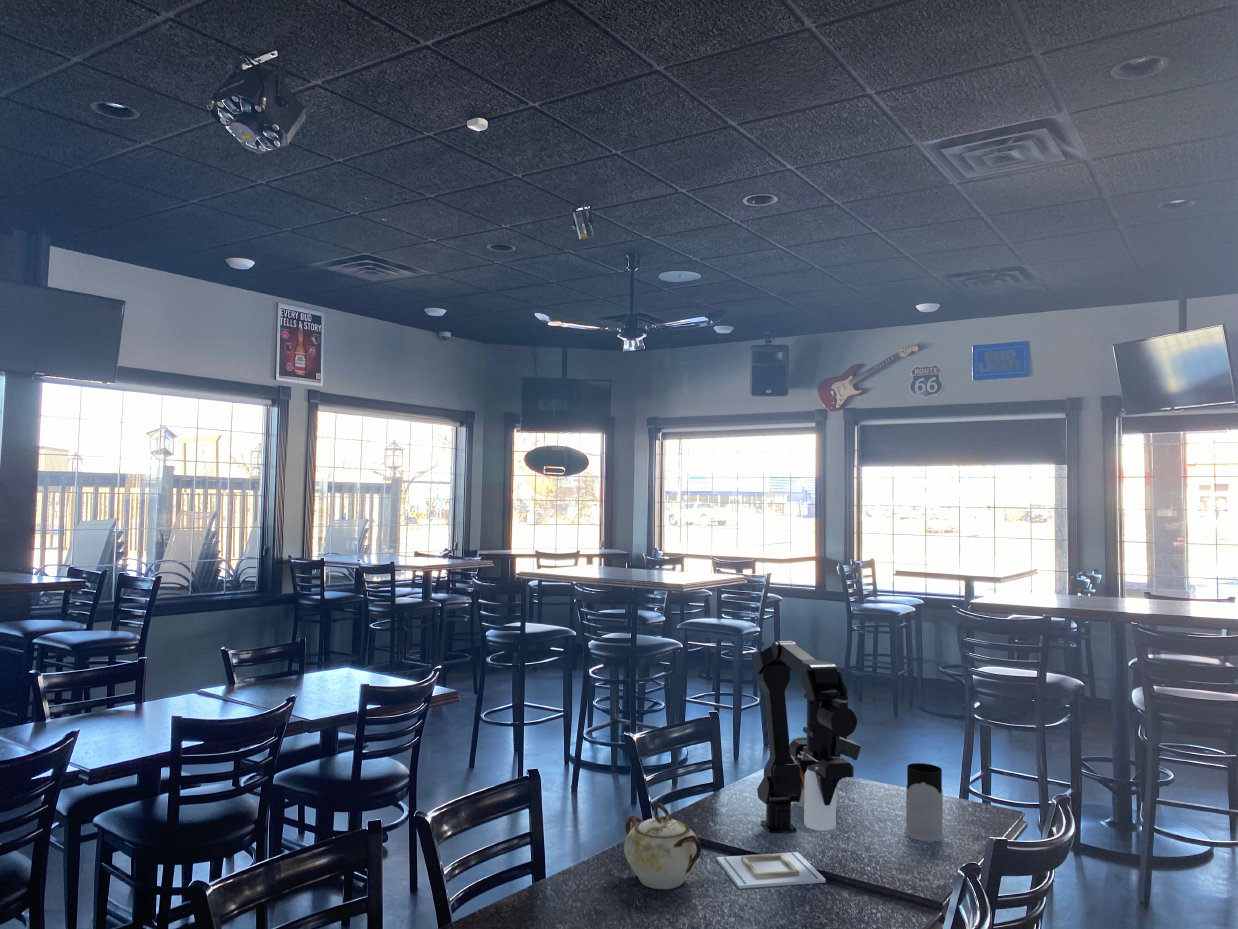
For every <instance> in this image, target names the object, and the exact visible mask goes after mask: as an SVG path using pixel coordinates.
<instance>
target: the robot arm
mask: <svg viewBox="0 0 1238 929" xmlns="http://www.w3.org/2000/svg"><path fill="white" fill-rule="evenodd" d="M752 666H753V667H752V669H753V672H754V674H755V679H756V682H757V684H758V685H759V687H760V688H761V690H762V691H763V693H764V704H765V706H764V707H765V715H766V727H767V730H766V731H767V740H768V751H769V757H768V759H767V762H766V764H765V766H764V768H763V778H762V780H761V781H760V783H759V785H758V787H757V789H756V791H757V792H756V793H757V797H758V798H757V799H759V800H760V801H761V802H762V803H763V804H764V805H765V819H763V820H760V824H761V825H762V826H763V827H764V828H765V829H766V830H767V831H768V830H769V831H770V832H769V831H768V832H769V833H781V832H782V833H783V832H785V833H786V832H796V831H797V830H798V829H797V828H796V826H794V825H793V823H792V803H796V802H800V797H801V792H802V787H803V783H802V779H801V775H800V771H801V773H802V776H803V778H804V779H805V773H806V771H807V766H809V765H818V770H819V772H815V774H816V778H817V781H818V785H819V788H820V792H821V795H822V799H823V802H824V805H830V803H831V800H832V797H833V794H834V792H835V789H836V790H837V787H836V786H838V783H839V782H840V781H841V780H842V779H845V778H853V777H854V775H855V774H854V773H855V769H854V768H855V767H854V765H852V763H851V762H849V761H848V760H846V759H844V758H843V757H841V755H843V756H845V757H848V758H851V759H852V760H854V761H858V758H859V755H860V752H861V748H862V745H860V744H858V742H855V741H853V740H851V739H849V738H848V737H849V736H851V735H852V734H853V733H854V732H855V730H856V728H857V725H858V719H857V717H856V714H855V712H854V711H853V710H852V709H850V708H849V702H848V700H849V697H848V689H847V686H846V684H845V682H844V680H843V677H842V674H841V671H840V670H839V668H838V666H837V665H836V664H835V663H832V662H829V661H825V660H820V659H816V658H814V657H813V656H812V655H810V654H809V653H808V652H807V651H805V650H803V649H802V648H801V647H800V646H798V645H797V643H796V641H792V640H776V641H774V642H773V643H771V645H770V646H769V647H767V648H765V649H763V650H761V651H759V653H758V655H756V657H755V658H754V659H753V664H752ZM792 671H793V672H795V673H796V674H797V675H798V676H800V679H799V682H800V684H801V685H802V686H803V688H804V691H805V693H804V694H803V698H804V699H806V726H803V727H802V731H803V732H802V733H805V734H806V737H807V740H793V741H792V743H791V744H790V736H789V723H788V722H789V720H788V711H787V700H786V690H787V688H788V686H789V685H790V681H791V678H792V676H791V675H792V674H791V672H792ZM791 754H792V755H793V756H797V755H798V757H795V761H796V762H797V764H796V763H795V762H794V760H793V759H792V757H791ZM832 757H840V758H832Z"/></svg>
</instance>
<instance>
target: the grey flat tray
mask: <svg viewBox="0 0 1238 929" xmlns="http://www.w3.org/2000/svg"><path fill="white" fill-rule="evenodd" d="M776 854H783V855H784V856H785V857H786V858H787V859H788V860H789V861H790V862H791V863H792V865H793V866H794V867H795V868H796V869H797V870H798V871H799V876H787V877H773V878H759V879H756V877H755V876H754V875H753V874H752V873H751V872H750V870H749V869H748V868H747V867H746V866H745V864H744V863H743V862H742V861H741V857H745V856H760V855H776ZM716 861H717V862H718V864H719V865H720V867H721V868H722V869H723V870H724V872H725V873H726V874H727V875H728V877H729V878H730V879H731V880H732V882H733V883H734V884H735V886H736V887H737V888H738V889H741V890H742V889H754V888H766V887H781V886H796V885H805V884H806V885H807V884H811V885H812V884H820V883H821V884H822V883H825V884H826V878H825V877H824V876H823V875H822V874H821V873H820V872H819V871H818V870H817V869H816V868H815V867H814V866H813V865H812V864H811V863H810V862H809V861H808V860H806V859H805V857H804V856H803V855H801V853H799V851H794V852H777V853H776V852H775V853H766V854H763V853H762V854H746V855H732V856H717V857H716ZM750 863H751V865H752V866H753V867H754V868H755V869H756V870H757V871H758V873H764V872H778V871H791V870H790V869H789V868H788V867H787V866H786V865H785V864H784V863H783V862H782V861H781V860H765V861H750Z"/></svg>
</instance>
